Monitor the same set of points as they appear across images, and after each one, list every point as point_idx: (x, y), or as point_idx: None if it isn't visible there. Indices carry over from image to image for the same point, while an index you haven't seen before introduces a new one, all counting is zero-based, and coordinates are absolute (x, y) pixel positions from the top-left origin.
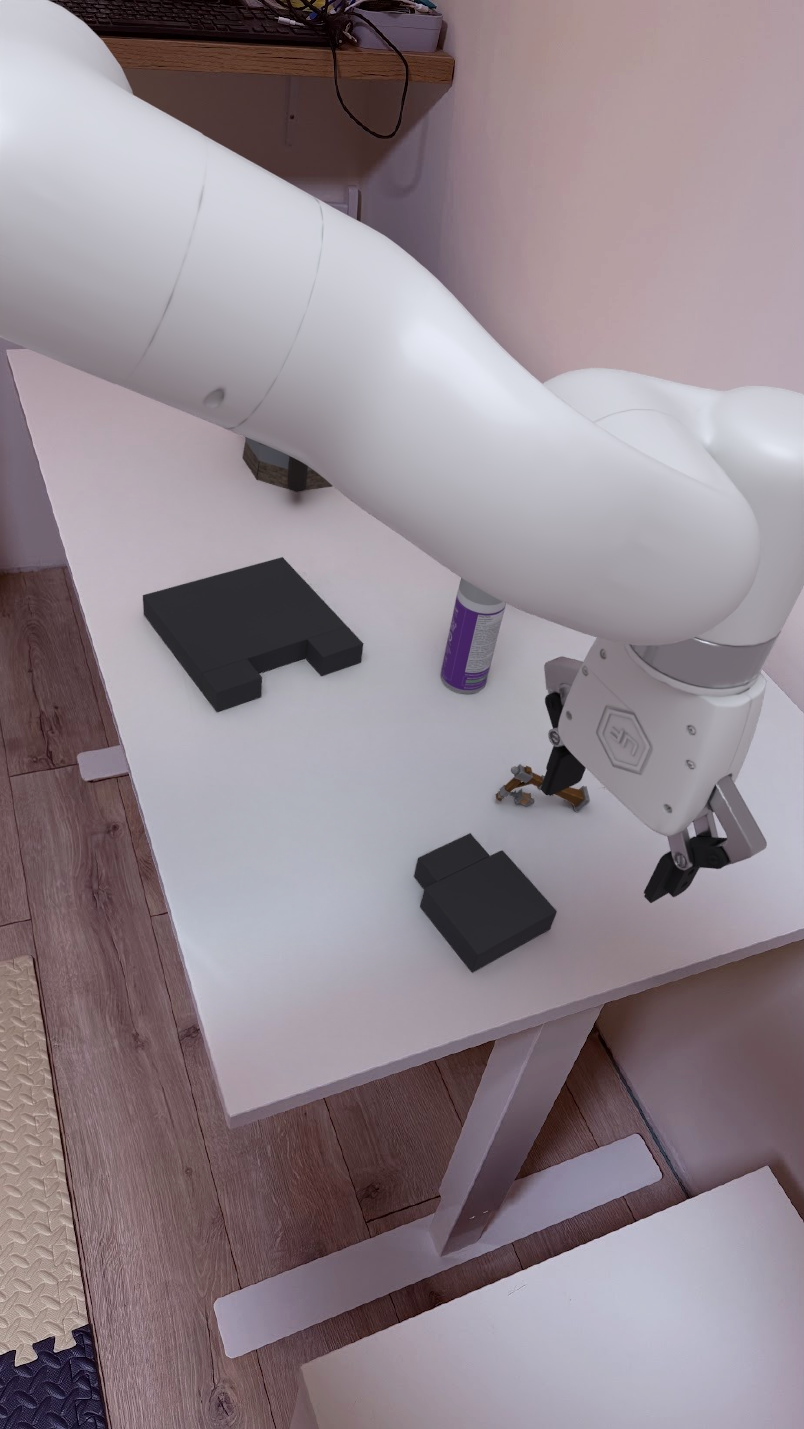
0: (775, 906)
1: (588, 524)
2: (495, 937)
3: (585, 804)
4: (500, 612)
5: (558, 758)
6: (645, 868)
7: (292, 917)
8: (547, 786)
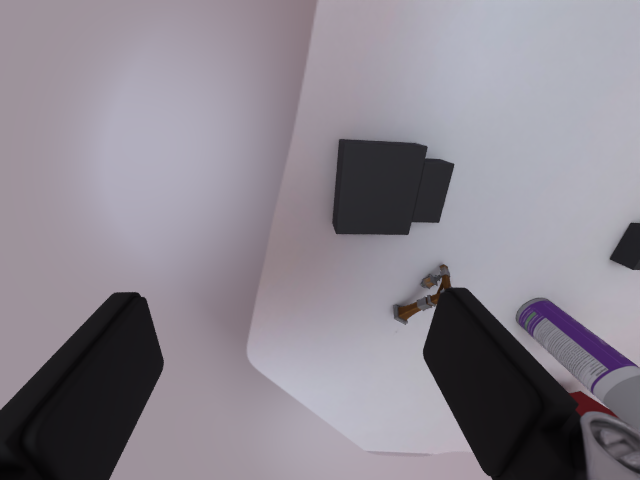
0: (259, 359)
1: None
2: (348, 169)
3: (394, 314)
4: (591, 385)
5: (537, 391)
6: (330, 313)
7: (491, 18)
8: (465, 303)
